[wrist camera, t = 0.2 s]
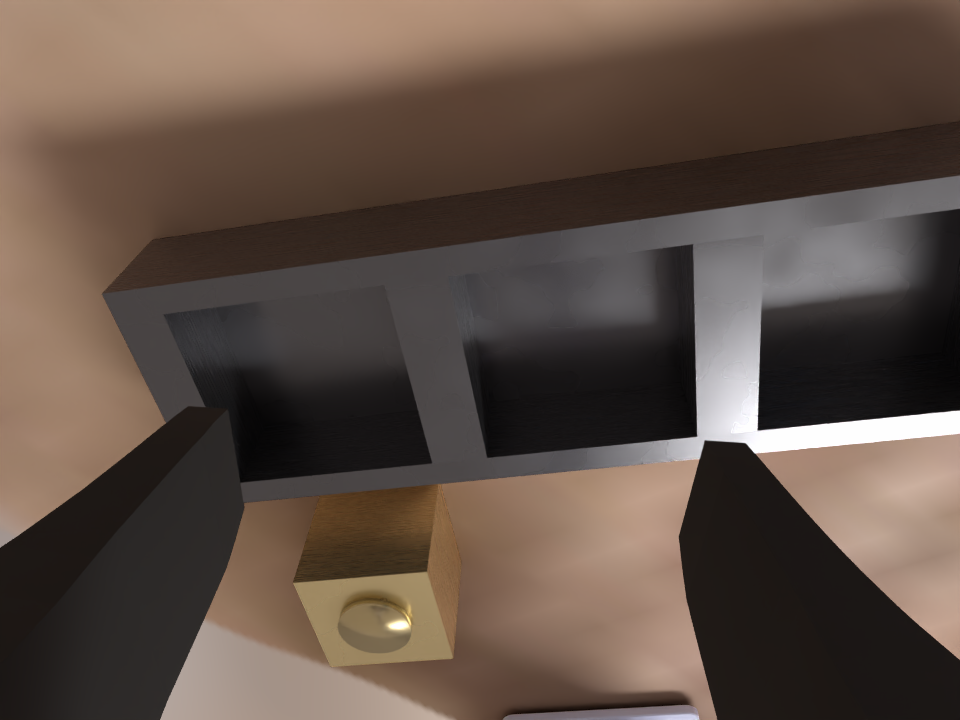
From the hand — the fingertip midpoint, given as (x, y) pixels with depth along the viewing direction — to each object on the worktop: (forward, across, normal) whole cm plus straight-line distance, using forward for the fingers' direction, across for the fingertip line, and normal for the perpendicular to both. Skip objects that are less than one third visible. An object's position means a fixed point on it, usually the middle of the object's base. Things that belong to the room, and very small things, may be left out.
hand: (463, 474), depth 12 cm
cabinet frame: (+10, -2, +2) cm, 10 cm away
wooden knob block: (+10, +3, +12) cm, 16 cm away
